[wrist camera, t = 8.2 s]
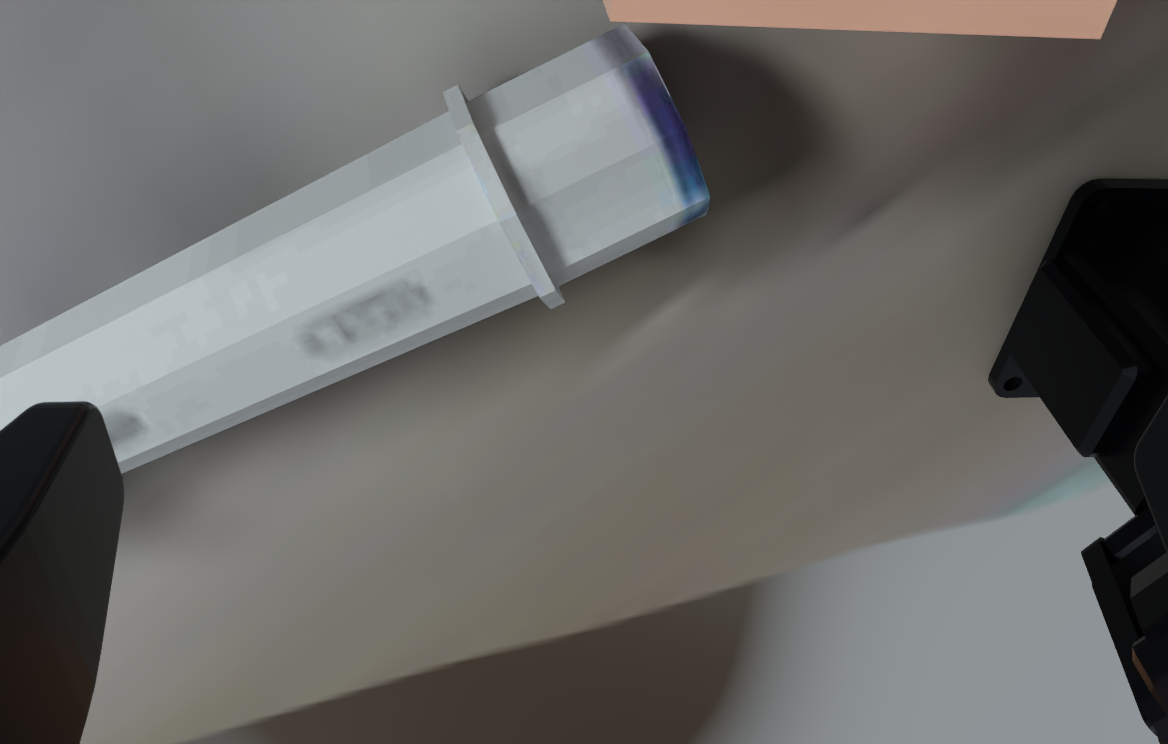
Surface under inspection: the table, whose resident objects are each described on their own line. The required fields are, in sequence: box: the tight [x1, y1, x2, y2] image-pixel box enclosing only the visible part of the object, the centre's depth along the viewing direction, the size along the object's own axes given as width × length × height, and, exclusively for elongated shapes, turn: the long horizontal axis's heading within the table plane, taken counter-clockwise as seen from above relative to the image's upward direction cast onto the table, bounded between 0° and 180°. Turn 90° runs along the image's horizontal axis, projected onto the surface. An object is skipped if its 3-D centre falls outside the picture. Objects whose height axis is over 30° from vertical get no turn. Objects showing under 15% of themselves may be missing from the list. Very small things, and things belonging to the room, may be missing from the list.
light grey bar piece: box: [0, 24, 710, 474], centre depth 21 cm, size 5×7×25 cm
